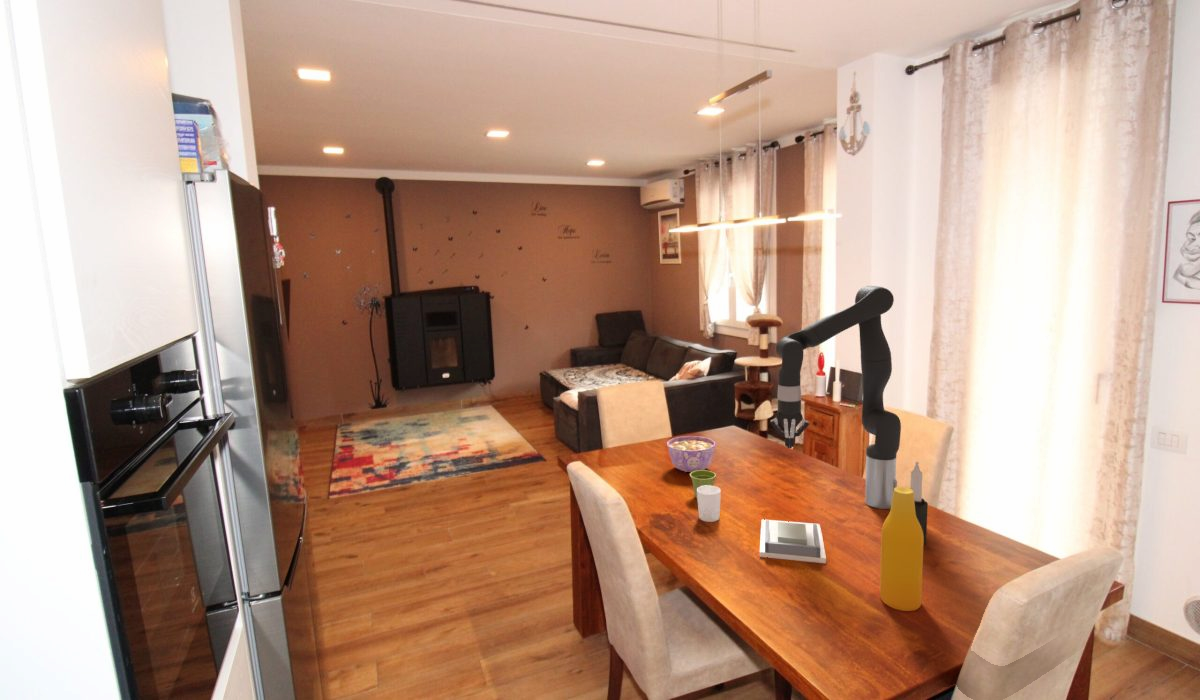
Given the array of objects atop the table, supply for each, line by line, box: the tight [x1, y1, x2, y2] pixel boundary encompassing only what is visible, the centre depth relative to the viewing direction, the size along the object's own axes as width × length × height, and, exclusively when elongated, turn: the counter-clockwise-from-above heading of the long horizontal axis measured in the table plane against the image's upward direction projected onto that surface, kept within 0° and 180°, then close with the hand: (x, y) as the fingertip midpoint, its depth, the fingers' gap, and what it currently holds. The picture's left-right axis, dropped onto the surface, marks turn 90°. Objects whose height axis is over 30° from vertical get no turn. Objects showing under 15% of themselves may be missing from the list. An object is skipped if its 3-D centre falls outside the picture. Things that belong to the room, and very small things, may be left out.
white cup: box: [696, 485, 722, 523], centre depth 191 cm, size 8×8×10 cm
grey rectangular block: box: [778, 522, 807, 545], centre depth 170 cm, size 8×10×4 cm
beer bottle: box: [879, 486, 924, 612], centre depth 139 cm, size 9×9×29 cm
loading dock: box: [759, 518, 827, 564], centre depth 174 cm, size 18×25×6 cm
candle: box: [909, 461, 929, 546], centre depth 167 cm, size 5×5×25 cm
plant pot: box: [689, 469, 717, 499], centre depth 208 cm, size 9×9×9 cm
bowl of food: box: [666, 435, 716, 473], centre depth 236 cm, size 20×20×12 cm
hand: (789, 447), depth 192 cm, fingers closed
